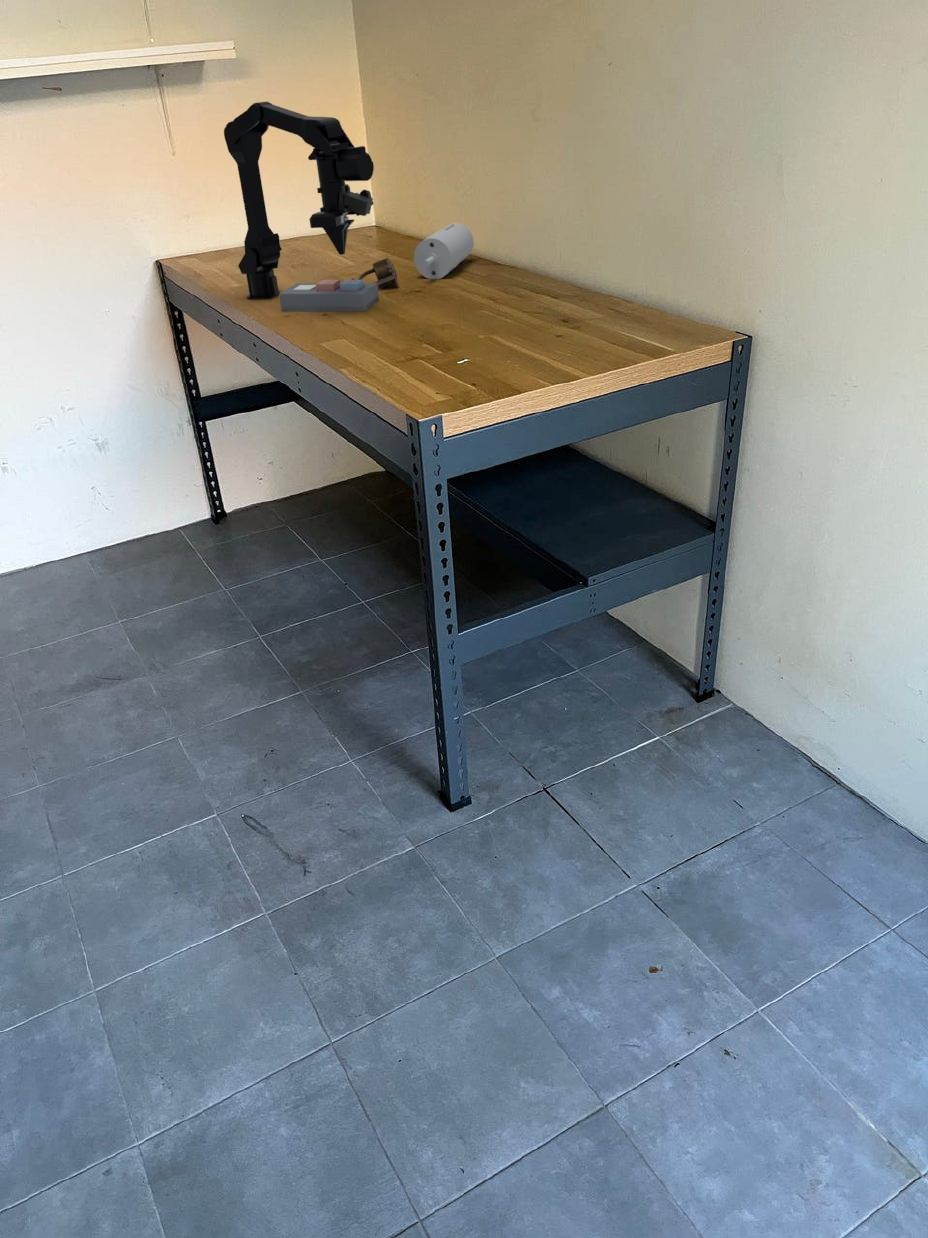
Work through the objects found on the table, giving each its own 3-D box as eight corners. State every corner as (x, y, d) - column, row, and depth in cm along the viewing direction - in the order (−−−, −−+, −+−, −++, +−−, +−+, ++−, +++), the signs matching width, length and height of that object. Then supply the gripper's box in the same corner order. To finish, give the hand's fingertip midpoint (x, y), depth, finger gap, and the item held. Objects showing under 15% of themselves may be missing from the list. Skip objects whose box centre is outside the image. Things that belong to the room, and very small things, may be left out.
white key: (295, 302, 226) (293, 289, 224) (301, 297, 229) (300, 284, 228) (312, 302, 225) (310, 289, 223) (318, 297, 228) (316, 284, 227)
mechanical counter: (395, 270, 232) (402, 252, 239) (344, 266, 233) (353, 249, 240) (396, 297, 237) (403, 280, 244) (347, 294, 238) (355, 276, 245)
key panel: (281, 310, 224) (279, 293, 222) (298, 299, 233) (296, 283, 231) (364, 311, 219) (362, 293, 217) (378, 299, 228) (377, 282, 226)
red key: (317, 296, 224) (315, 283, 222) (324, 292, 227) (322, 279, 226) (334, 296, 223) (333, 283, 221) (341, 292, 226) (339, 279, 225)
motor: (446, 284, 239) (444, 242, 234) (408, 284, 242) (405, 242, 237) (476, 259, 264) (474, 220, 259) (442, 259, 267) (439, 221, 261)
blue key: (341, 296, 222) (339, 283, 221) (347, 292, 226) (345, 279, 224) (358, 296, 221) (357, 283, 220) (364, 292, 225) (363, 279, 223)
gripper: (351, 184, 201) (361, 261, 209) (378, 173, 216) (387, 245, 224) (303, 187, 204) (315, 262, 212) (334, 176, 219) (343, 247, 227)
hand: (342, 254), depth 219 cm, fingers closed
